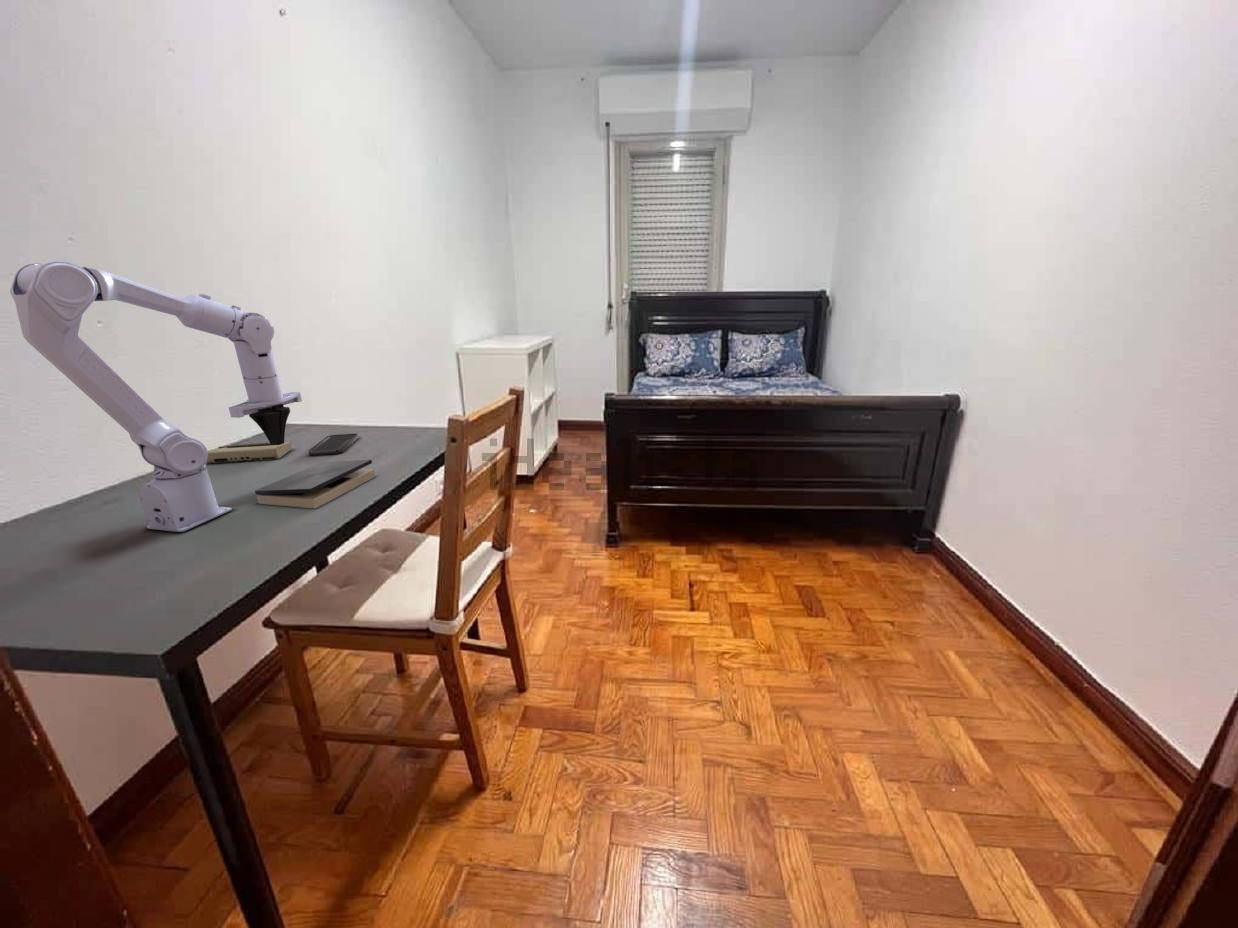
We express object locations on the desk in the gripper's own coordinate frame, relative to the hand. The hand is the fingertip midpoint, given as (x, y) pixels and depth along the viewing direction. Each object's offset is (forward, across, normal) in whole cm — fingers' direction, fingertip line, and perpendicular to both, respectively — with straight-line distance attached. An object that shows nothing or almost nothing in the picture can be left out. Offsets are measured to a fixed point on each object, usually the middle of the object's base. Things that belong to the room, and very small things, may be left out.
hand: (277, 444), depth 104 cm
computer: (+10, -16, -27) cm, 33 cm away
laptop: (+9, 0, +8) cm, 12 cm away
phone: (+9, -27, -12) cm, 31 cm away
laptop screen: (+7, 0, +8) cm, 10 cm away
